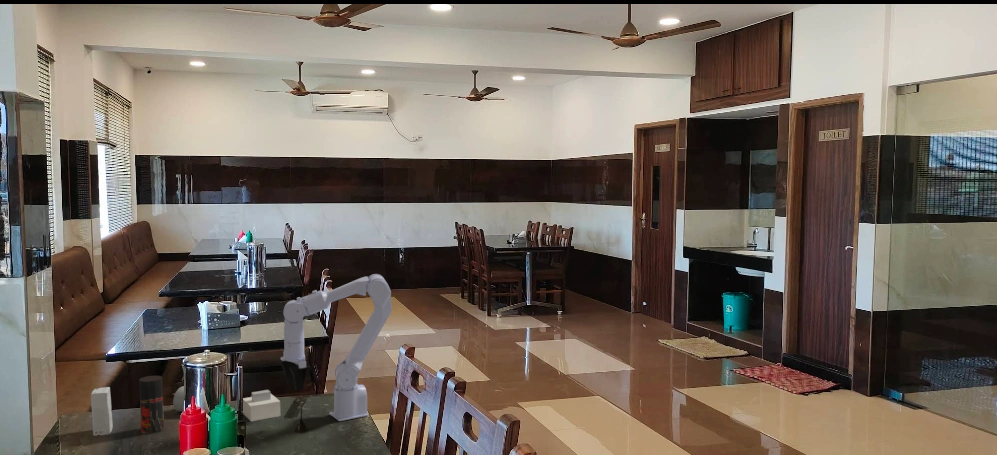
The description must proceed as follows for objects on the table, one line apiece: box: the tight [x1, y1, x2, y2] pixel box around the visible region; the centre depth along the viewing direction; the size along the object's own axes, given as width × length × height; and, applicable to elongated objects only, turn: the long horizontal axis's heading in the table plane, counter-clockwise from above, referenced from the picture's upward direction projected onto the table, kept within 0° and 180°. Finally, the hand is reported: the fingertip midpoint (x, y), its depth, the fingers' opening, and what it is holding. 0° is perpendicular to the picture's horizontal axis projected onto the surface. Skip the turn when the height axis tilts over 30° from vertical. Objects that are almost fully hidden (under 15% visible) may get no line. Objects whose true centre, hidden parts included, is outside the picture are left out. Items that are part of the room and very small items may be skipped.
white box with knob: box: [242, 389, 281, 422], centre depth 224 cm, size 9×9×7 cm
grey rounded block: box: [172, 385, 185, 413], centre depth 228 cm, size 11×8×8 cm
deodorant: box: [138, 375, 165, 435], centre depth 211 cm, size 6×6×15 cm
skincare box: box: [90, 386, 114, 437], centre depth 209 cm, size 6×4×12 cm
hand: (295, 386), depth 220 cm, fingers open, 7 cm apart
